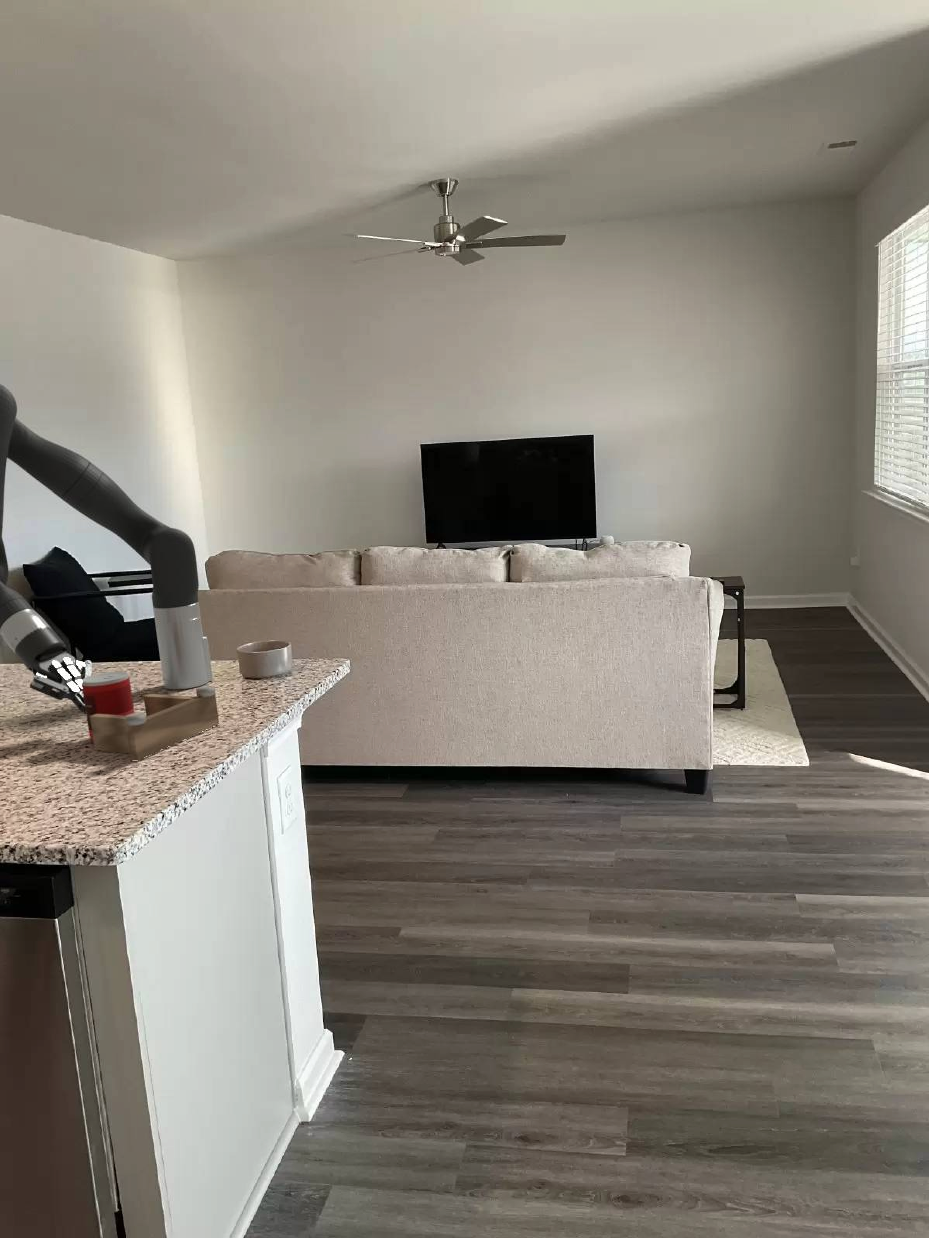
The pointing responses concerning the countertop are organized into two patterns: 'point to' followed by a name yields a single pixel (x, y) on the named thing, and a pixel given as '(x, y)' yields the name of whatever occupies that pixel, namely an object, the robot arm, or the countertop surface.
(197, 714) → the bracket
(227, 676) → the countertop surface
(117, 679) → the canned food
